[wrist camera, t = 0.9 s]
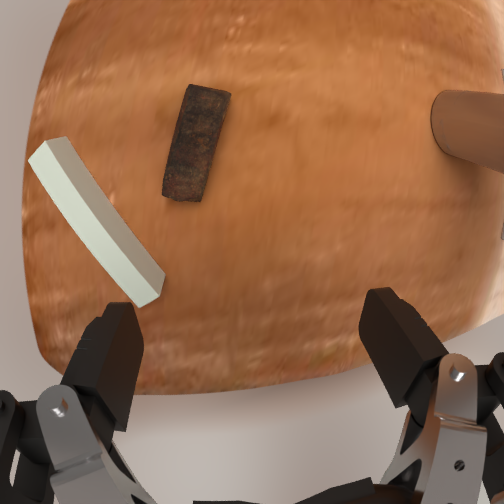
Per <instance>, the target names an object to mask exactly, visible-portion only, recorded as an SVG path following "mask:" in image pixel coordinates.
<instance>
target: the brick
mask: <svg viewBox="0 0 504 504" xmlns="http://www.w3.org/2000/svg"><path fill="white" fill-rule="evenodd" d="M230 98H231V93H229V92H227V91H223V90H218V89H213V88H208V87H203V86H198V85H193V84H189V85H188V88H187V89H186V92H185V95H184V99H183V102H182V106H181V110H180V113H179V117H178V120H177V124H176V128H175V132H174V135H173V138H172V144H171V147H170V152H169V156H168V160H167V165H166V169H165V174H164V178H163V185H162V186H163V188H162V195H163V196H165V197H167V198H171V199H173V200H175V201H191V202H192V201H195V202H197V201H198V202H200V201H201V200H202V196H203V192H204V189H205V185H206V182H207V178H208V174H209V170H210V167H211V164H212V161H213V157H214V153H215V149H216V146H217V142H218V139H219V135H220V131H221V128H222V124H223V121H224V118H225V115H226V111H227V108H228V105H229V101H230Z"/></svg>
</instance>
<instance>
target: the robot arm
mask: <svg viewBox="0 0 504 504" xmlns="http://www.w3.org/2000/svg"><path fill="white" fill-rule="evenodd" d="M431 121H432V129H433V133H434V136H435V139H436V141H437V143H438V145H439V146H440V147H441V149H442V150H443V151H444V152H446V153H447V154H449V155H452V156H455V157H458V158H461V159H464V160H467V161H470V162H473V163H476V164H479V165H481V166H484V167H487V168H490V169H492V170H495V171H498V172H500V173H503V174H504V94H496V93H487V92H475V91H462V90H446V91H443V92H442V93H440V94H439V95H438V96H437V98H436V99H435V102H434V104H433V108H432V115H431ZM359 336H360V339H361V341H362V343H363V345H364V347H365V349H366V350H367V352H368V354H369V356H370V358H371V360H372V362H373V364H374V366H375V368H376V370H377V372H378V374H379V376H380V378H381V380H382V382H383V383H384V386H385V388H386V390H387V392H388V394H389V396H390V398H391V400H392V402H393V404H394V406H395V408H398V407H402V406H405V405H408V407H409V409H410V410H409V411H408V413H407V415H406V419H405V423H404V426H403V430H402V433H401V437H400V440H399V443H398V446H397V449H396V452H395V456H394V458H393V460H392V462H391V464H390V466H389V467H388V469H387V470H386V472H385V473H384V475H383V477H382V479H381V481H380V484H373V483H372V480H371V477H368V478H365V479H362V480H359V481H355V482H352V483H348V484H345V485H341V486H336V487H333V488H330V489H327V490H325V491H323V492H321V493H319V494H316V495H314V496H312V497H310V498H307V499H305V500H303V501H300V502H298V503H295V504H477V501H478V496H479V492H480V486H481V481H483V483H484V486H485V489H486V492H487V495H488V498H489V501H490V504H504V433H503V431H502V429H501V428H500V425H499V423H498V422H497V419H496V418H495V416H494V414H493V412H494V410H495V409H496V408H497V407H498V406H499V405H500V404H501V405H502V407H503V409H504V352H502V353H501V352H500V353H498V354H496V355H495V356H494V358H493V360H492V361H491V363H490V364H489V365H474V364H473V363H472V362H471V360H469V359H468V358H467V357H465V356H463V355H461V354H455V353H453V354H449V352H448V351H447V350H446V348H445V347H444V346H443V344H442V343H441V342H440V340H439V339H438V338H437V336H436V335H435V334H434V332H433V331H432V330H431V328H430V327H429V326H427V323H426V322H425V321H424V319H423V318H421V316H420V314H419V313H418V312H417V311H416V309H415V308H414V307H413V306H411V305H410V304H409V303H407V302H406V301H404V300H403V299H400V298H399V297H398V296H397V295H396V294H395V292H394V291H393V290H392V289H391V288H390V287H385V288H376V289H370V290H369V291H368V292H367V295H366V299H365V303H364V306H363V310H362V314H361V318H360V321H359ZM143 351H144V342H143V336H142V333H141V330H140V327H139V324H138V320H137V317H136V314H135V310H134V307H133V305H132V303H130V302H110V303H109V304H108V305H107V307H106V309H105V311H104V313H103V315H102V317H96V318H95V319H94V320H93V321H92V322H91V323H90V324H89V325H88V326H87V327H86V329H85V331H84V333H83V335H82V337H81V340H80V341H79V343H78V345H77V350H76V349H75V351H74V353H73V356H72V358H71V360H70V362H69V364H68V367H67V369H66V371H65V374H64V376H63V378H62V381H61V383H60V385H54V386H51V387H49V388H47V389H46V390H45V391H44V392H43V393H42V394H41V395H40V396H39V398H38V400H34V401H23V402H18V401H17V400H16V399H15V398H14V397H13V395H12V394H11V393H10V392H8V391H5V390H0V504H53V502H54V494H55V495H56V497H57V500H58V502H59V504H157V503H156V502H155V501H154V499H153V498H152V497H151V496H150V495H149V494H148V493H147V492H146V491H145V489H144V488H143V487H142V486H141V484H140V483H139V482H138V480H137V479H136V477H135V476H134V474H133V473H132V471H131V470H130V468H129V466H128V465H127V463H126V462H125V460H124V458H123V457H122V455H121V453H120V452H119V450H118V448H117V447H116V445H115V443H114V442H113V440H112V438H113V432H114V430H115V431H122V432H126V428H127V422H128V418H129V413H130V408H131V404H132V399H133V394H134V390H135V385H136V381H137V377H138V373H139V368H140V364H141V360H142V356H143ZM16 449H17V450H18V451H19V452H20V457H19V461H18V465H17V470H16V474H15V480H14V484H13V487H12V486H11V483H10V479H9V478H10V477H9V476H10V471H11V467H12V462H13V458H14V454H15V450H16ZM193 504H258V503H250V502H244V501H193Z"/></svg>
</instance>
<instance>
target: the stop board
mask: <svg viewBox="0 0 504 504" xmlns="http://www.w3.org/2000/svg"><path fill="white" fill-rule="evenodd" d="M28 162H29V163H30V165H31V167H32V168H33V170H34V172H35V173H36V175H37V177H38V178H39V180H40V181H41V183H42V184H43V186H44V188H45V189H46V191H47V192H48V194H49V195H50V197H51V198H52V200H53V201H54V203H55V204H56V206H57V207H58V208H59V210H60V211H61V213H62V214H63V216H64V217H65V218H66V220H67V221H68V222H69V224H70V225H71V227H72V228H73V229H74V231H75V232H76V233H77V235H78V236H79V237H80V239H81V240H82V241H83V242H84V244H85V245H86V246H87V248H88V249H89V250H90V251H91V253H92V254H93V255H94V256H95V258H96V259H97V260H98V261H99V263H100V264H101V265H102V266H103V267H104V269H105V270H106V271H107V272H108V273H109V275H110V276H111V277H112V278H113V279H114V280H115V282H116V283H117V284H118V285H119V286H120V287H121V288H122V289H123V291H124V292H125V293H126V294H127V295H128V296H129V297H130V298H131V299H132V301H133V302H134V303H135V304H136V305H137V306H138V307H139V308H140V307H142V306H144V305H146V304H147V303H149V302H151V301H152V300H154V299H156V298H158V297H159V296H160V293H161V290H162V286H163V282H164V279H165V275H166V274H165V273H164V272H163V270H162V269H161V268H160V267H159V265H158V264H157V263H156V262H155V261H154V259H153V258H152V257H151V256H150V254H149V253H148V252H147V250H146V249H145V248H144V247H143V245H142V244H141V243H140V242H139V240H138V239H137V238H136V236H135V235H134V234H133V232H132V231H131V230H130V228H129V227H128V226H127V224H126V223H125V222H124V220H123V219H122V218H121V216H120V215H119V214H118V212H117V211H116V210H115V208H114V207H113V205H112V204H111V203H110V201H109V200H108V198H107V197H106V196H105V194H104V193H103V191H102V190H101V188H100V187H99V186H98V184H97V183H96V181H95V180H94V178H93V177H92V175H91V174H90V172H89V171H88V169H87V168H86V166H85V165H84V163H83V162H82V160H81V159H80V157H79V156H78V154H77V152H76V151H75V149H74V148H73V146H72V145H71V143H70V141H69V140H68V138H67V137H66V136H64V137H60V138H55V139H50V140H46V141H44V142H43V144H42V145H41V146H40V147H39V148H38V149H37V150H36V151H35V153H34V154H33V155H32V156H31V157H30V159H29V160H28Z"/></svg>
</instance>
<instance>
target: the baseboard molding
mask: <svg viewBox="0 0 504 504" xmlns="http://www.w3.org/2000/svg"><path fill="white" fill-rule="evenodd" d="M501 70H502V75H503V82H504V69H501ZM501 238H502V239H503V240H504V224H503V230H502V236H501Z"/></svg>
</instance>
